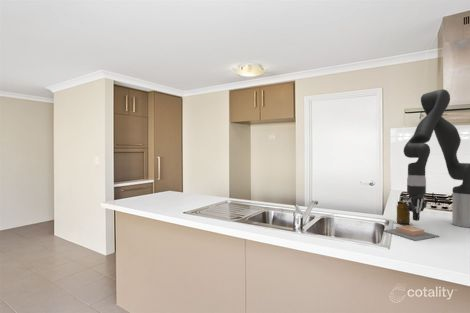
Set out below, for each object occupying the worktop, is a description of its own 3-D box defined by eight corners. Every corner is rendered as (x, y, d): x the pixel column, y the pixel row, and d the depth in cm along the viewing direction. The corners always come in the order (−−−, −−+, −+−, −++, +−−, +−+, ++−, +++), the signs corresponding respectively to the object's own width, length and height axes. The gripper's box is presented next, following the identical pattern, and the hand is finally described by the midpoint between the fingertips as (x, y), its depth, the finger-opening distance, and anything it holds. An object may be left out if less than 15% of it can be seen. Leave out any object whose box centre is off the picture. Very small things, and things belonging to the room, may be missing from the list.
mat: (405, 227, 137) (405, 227, 137) (439, 236, 123) (439, 235, 123) (383, 231, 132) (383, 230, 132) (415, 241, 117) (415, 240, 117)
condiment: (403, 221, 151) (403, 200, 150) (416, 225, 142) (416, 203, 142) (392, 222, 149) (392, 201, 149) (405, 226, 141) (405, 203, 140)
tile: (407, 225, 132) (396, 226, 129) (424, 229, 125) (412, 231, 122) (407, 230, 132) (396, 231, 129) (424, 234, 125) (412, 236, 122)
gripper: (417, 183, 134) (417, 217, 134) (399, 184, 129) (399, 219, 130) (433, 184, 127) (433, 220, 127) (414, 186, 122) (414, 223, 123)
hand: (416, 220), depth 128 cm, fingers closed
